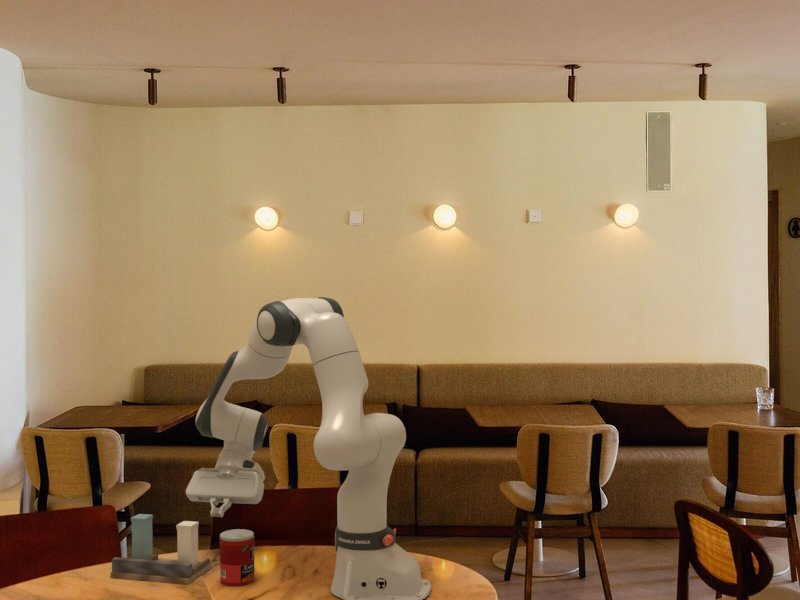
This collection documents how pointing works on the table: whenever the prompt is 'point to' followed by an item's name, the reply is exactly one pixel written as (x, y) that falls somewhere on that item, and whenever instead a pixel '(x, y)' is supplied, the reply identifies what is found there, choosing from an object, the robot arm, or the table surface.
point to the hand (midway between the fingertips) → (216, 515)
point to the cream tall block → (187, 542)
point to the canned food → (237, 557)
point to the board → (159, 578)
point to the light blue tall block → (142, 536)
